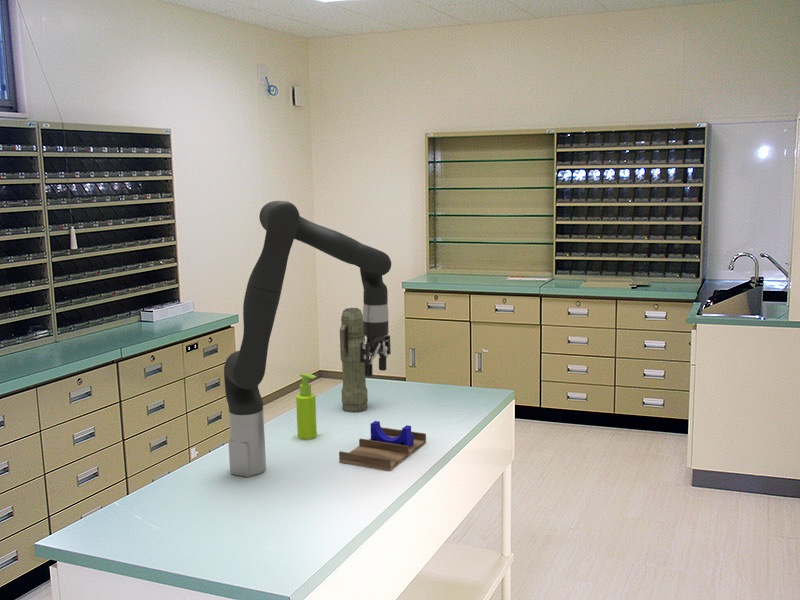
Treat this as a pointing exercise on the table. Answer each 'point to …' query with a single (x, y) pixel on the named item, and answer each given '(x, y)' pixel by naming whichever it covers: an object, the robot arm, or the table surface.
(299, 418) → the soap dispenser
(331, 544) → the table surface
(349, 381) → the thermos
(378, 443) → the rack
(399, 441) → the blue cradle stand
